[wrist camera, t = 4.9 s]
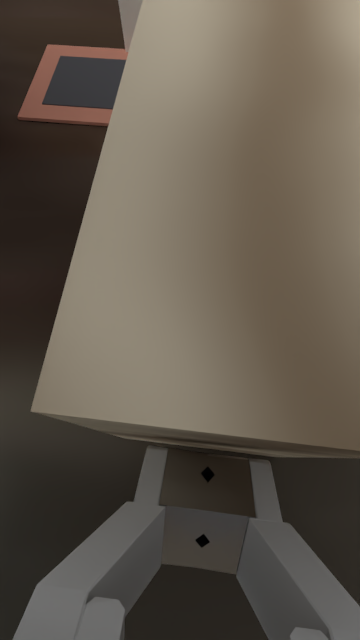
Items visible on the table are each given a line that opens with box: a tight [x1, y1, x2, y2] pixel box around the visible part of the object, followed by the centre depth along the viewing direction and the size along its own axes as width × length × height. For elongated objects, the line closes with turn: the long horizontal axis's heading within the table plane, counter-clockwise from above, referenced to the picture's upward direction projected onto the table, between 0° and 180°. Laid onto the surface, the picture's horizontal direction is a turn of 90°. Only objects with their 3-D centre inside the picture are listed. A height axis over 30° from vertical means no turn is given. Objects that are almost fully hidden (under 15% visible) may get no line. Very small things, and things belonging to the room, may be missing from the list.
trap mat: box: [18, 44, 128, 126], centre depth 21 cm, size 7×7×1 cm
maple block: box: [31, 0, 360, 458], centre depth 11 cm, size 6×12×9 cm, turn 173°
